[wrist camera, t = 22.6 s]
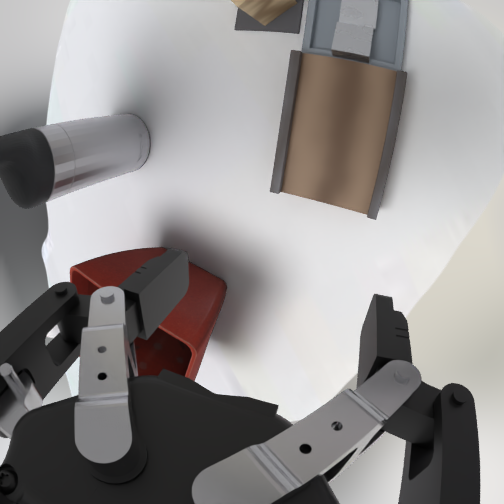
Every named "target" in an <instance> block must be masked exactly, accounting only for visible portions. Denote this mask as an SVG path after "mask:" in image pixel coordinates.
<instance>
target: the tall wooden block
mask: <svg viewBox="0 0 504 504" xmlns="http://www.w3.org/2000/svg"><path fill="white" fill-rule="evenodd" d="M231 1H232V2H233V3H234V4H235V5H236V6H237V7H238V8H240V9H241V10H243V11H244V12H246V13H247V14H249V15H250V16H252V17H253V18H254V19H256V20H257V21H259V22H260V23H261V24H263V25H264V26H266V25H267V24H268V23H270V22H271V21H273V20H274V19H275V18H277V17H278V16H280V15H281V14H282V13H284V12H285V11H287V10H288V9H290V8H291V7H293V6H294V5H296V4H297V2H296V1H295V0H231Z"/></svg>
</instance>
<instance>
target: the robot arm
mask: <svg viewBox="0 0 504 504" xmlns="http://www.w3.org/2000/svg"><path fill="white" fill-rule="evenodd" d="M149 149H150V138H149V133H148V130H147V128H146V126H145V124H144V123H143V121H142V120H141V119H140V118H138V117H137V116H135V115H132V114H121V115H111V116H102V117H94V118H87V119H80V120H74V121H68V122H62V123H56V124H51V125H46V126H41V127H36V128H31V129H26V130H22V131H19V132H14V133H10V134H7V135H3V136H0V178H1V180H2V182H3V184H4V186H5V188H6V190H7V192H8V194H9V195H10V197H11V199H12V200H13V201H14V202H15V203H16V204H17V205H18V206H20V207H22V208H25V209H27V208H28V209H29V208H33V207H36V206H38V205H41V204H43V203H45V202H48V201H50V200H53V199H56V198H58V197H61V196H63V195H66V194H68V193H71V192H74V191H76V190H79V189H82V188H85V187H87V186H90V185H93V184H96V183H99V182H102V181H105V180H108V179H111V178H114V177H117V176H120V175H123V174H126V173H130V172H133V171H135V170H138V169H139V168H140V167H142V165H143V164H144V163H145V161H146V159H147V157H148V154H149ZM188 286H189V266H188V254H187V252H186V251H181V250H177V249H173V248H170V249H168V250H167V251H166V252H165V253H164V254H162V255H161V256H160V257H159V256H157V257H155V258H152V259H150V260H148V261H147V262H145V263H144V264H143V265H142V266H141V268H138V269H137V270H136V271H135V272H134V273H133V274H131V275H130V276H129V277H128V278H127V279H126V280H125V281H123V282H122V283H121V284H120V285H119V286H118V287H114V286H107V287H103V288H100V289H98V290H96V291H95V292H94V293H93V294H92V295H82V294H78V292H77V288H76V286H75V284H73V283H70V282H61V283H58V284H55V285H53V286H52V287H51V288H49V289H48V290H47V291H46V292H45V293H43V295H41V296H40V297H39V298H38V299H36V300H35V301H34V302H33V303H32V304H31V305H30V306H28V307H27V308H26V309H25V310H24V311H23V312H22V313H21V314H19V315H18V316H17V317H16V318H15V319H14V320H13V321H12V322H11V323H10V324H8V325H7V326H6V327H5V328H4V329H3V330H2V331H1V332H0V436H1V437H4V438H10V439H11V441H10V445H9V449H8V452H7V455H6V457H5V459H4V461H3V463H2V465H1V466H0V504H339V502H338V500H337V498H336V496H335V495H334V493H333V491H332V489H331V488H330V486H329V483H330V482H332V481H333V480H334V479H336V478H337V477H338V476H339V475H340V474H341V473H343V472H344V471H345V470H346V469H347V468H348V467H349V466H350V465H351V464H352V463H353V462H354V461H355V460H356V459H358V457H360V456H361V455H362V454H363V453H364V452H365V451H367V450H368V449H369V448H370V447H371V446H372V445H373V444H374V443H375V442H376V441H377V440H378V439H379V438H380V437H382V435H384V434H385V433H386V432H388V433H390V434H393V435H395V436H397V437H399V438H402V439H404V440H406V448H405V458H404V468H403V476H402V483H401V490H400V497H399V502H398V504H480V457H479V441H478V429H477V419H476V411H475V403H474V398H473V396H472V394H471V392H470V391H469V390H468V389H467V388H466V387H464V386H462V385H460V384H455V383H451V384H448V385H446V386H445V387H444V388H443V389H442V390H439V389H437V388H435V387H432V386H430V385H428V384H426V383H424V382H423V381H422V380H421V374H420V372H419V370H418V369H417V368H416V367H415V366H414V365H412V356H411V347H410V340H409V332H408V324H407V320H406V318H405V317H404V315H403V314H402V312H399V311H394V309H393V300H392V297H388V296H383V295H378V294H374V295H373V298H372V301H371V304H370V306H369V309H368V312H367V315H366V318H365V321H364V324H363V327H362V331H361V336H360V351H359V366H358V378H357V389H356V390H354V391H352V390H351V389H346V390H344V391H343V392H341V393H340V394H339V395H337V396H336V397H334V398H333V399H332V400H330V401H329V402H327V403H326V404H325V405H323V406H322V407H320V408H319V409H317V410H316V411H314V412H313V413H311V414H310V415H308V416H307V417H305V418H304V419H302V420H301V421H299V422H298V423H296V424H294V425H293V424H291V423H290V422H289V421H288V420H286V419H285V418H283V417H281V416H280V415H278V414H276V413H277V409H278V405H276V404H272V403H268V402H264V401H260V400H257V399H253V398H250V397H241V396H230V395H220V394H215V393H212V392H211V391H209V390H207V389H206V388H204V387H203V386H201V385H199V384H198V383H196V382H195V381H193V380H191V379H190V378H187V377H185V376H182V375H179V374H176V373H174V372H171V371H168V370H166V369H163V370H162V371H161V372H160V374H159V375H158V376H155V375H142V376H138V369H137V361H136V352H135V344H134V339H135V338H136V337H140V338H142V339H145V340H148V338H149V337H150V336H151V335H152V334H153V332H154V331H155V330H156V329H157V328H158V326H159V325H160V324H161V323H162V322H163V320H164V319H165V318H166V317H167V316H168V315H169V313H170V312H171V311H172V310H173V309H174V307H175V306H176V305H177V304H178V303H179V301H180V300H181V299H182V298H183V297H184V296H185V294H186V292H187V290H188ZM56 325H58V328H59V331H60V332H59V333H58V334H57V335H56V336H55V337H54V338H53V340H52V341H51V342H50V343H49V344H48V345H47V346H46V345H45V338H46V335H47V334H48V333H49V332H50V331H51V330H52V329H53V328H54V327H55V326H56ZM79 356H80V367H79V394H78V395H77V396H74V397H71V398H67V399H64V400H61V401H58V402H54V403H51V404H48V405H44V406H42V403H43V399H44V398H45V397H46V395H47V394H48V393H49V392H50V390H51V389H52V388H53V387H54V386H55V384H56V383H57V382H58V381H59V379H60V378H61V377H62V376H63V374H64V373H65V372H66V371H67V370H68V369H69V367H70V366H71V365H72V364H73V363H74V362H75V360H76V359H77V358H78V357H79Z"/></svg>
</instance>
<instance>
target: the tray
mask: <svg viewBox="0 0 504 504" xmlns="http://www.w3.org/2000/svg"><path fill="white" fill-rule="evenodd" d="M341 1H342V0H309V2H308V10H307V17H306V24H305V31H304V38H303V45H302V53H307V54H314V55H321V56H327V57H333V58H339V59H344V60H350V61H355V62H360V63H364V64H369V65H373V66H377V67H382V68H386V69H390V70H393V71H397V70H400V71H401V67H402V60H403V52H404V43H405V34H406V23H407V11H408V0H379V5H378V15H377V24H376V32H373V40H372V47H371V53H370V60H369V63H366V62H362V61H357V60H352V59H347V58H342V57H337V56H332V51H331V48H332V43H333V38H334V33H335V29H336V24H337V22H339V17H340V9H341Z"/></svg>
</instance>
